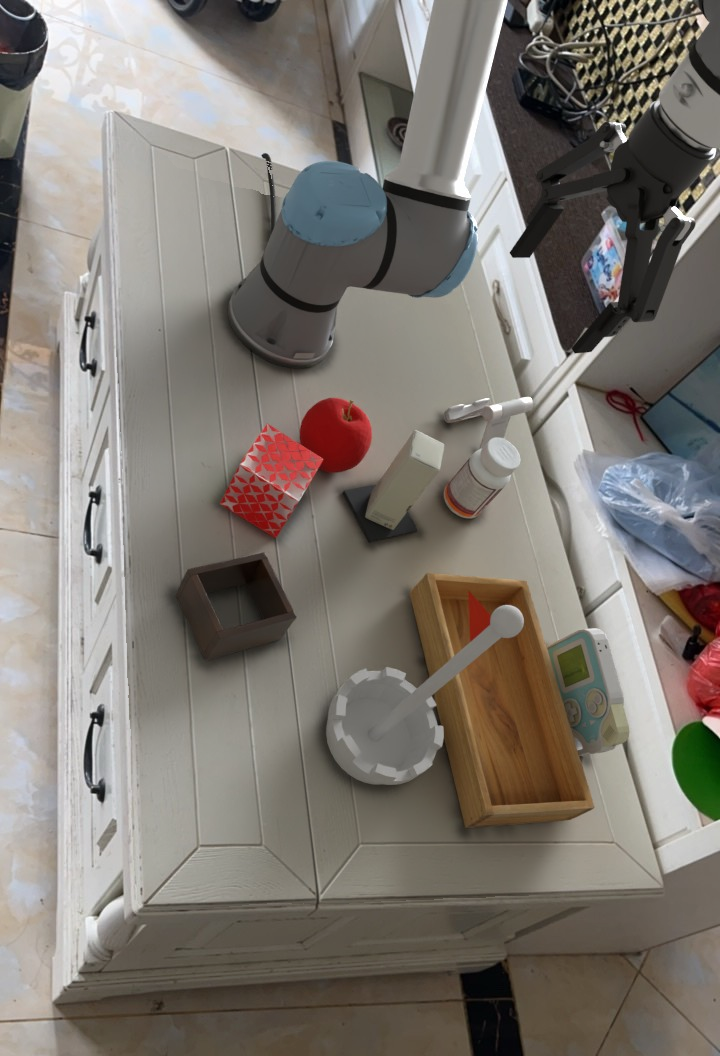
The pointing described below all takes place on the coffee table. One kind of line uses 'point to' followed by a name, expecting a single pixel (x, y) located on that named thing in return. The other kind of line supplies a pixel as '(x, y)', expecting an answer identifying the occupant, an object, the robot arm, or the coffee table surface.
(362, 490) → the mat
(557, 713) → the tray
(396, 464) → the box
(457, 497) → the pill bottle
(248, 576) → the box
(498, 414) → the tablet stand
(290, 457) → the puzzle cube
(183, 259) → the coffee table surface
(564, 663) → the handheld gaming console
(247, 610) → the coffee table surface
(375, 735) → the flag stand
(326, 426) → the fruit
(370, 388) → the coffee table surface
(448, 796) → the coffee table surface
